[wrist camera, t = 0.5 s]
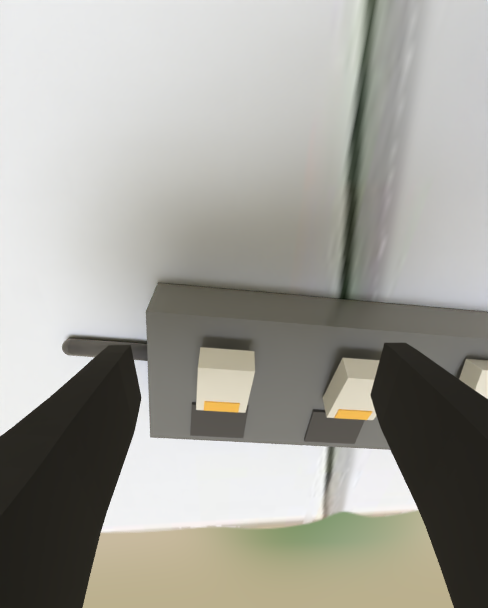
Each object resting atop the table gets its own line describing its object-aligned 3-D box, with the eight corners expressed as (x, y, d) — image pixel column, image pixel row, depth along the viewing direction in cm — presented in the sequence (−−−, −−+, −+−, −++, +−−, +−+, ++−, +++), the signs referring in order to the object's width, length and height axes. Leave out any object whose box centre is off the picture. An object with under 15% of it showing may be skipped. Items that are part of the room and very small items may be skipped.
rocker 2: (392, 361, 17) (401, 382, 16) (367, 400, 19) (373, 421, 18) (342, 357, 17) (348, 379, 16) (322, 398, 19) (326, 418, 18)
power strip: (526, 315, 20) (572, 347, 18) (461, 418, 25) (490, 457, 22) (54, 273, 18) (22, 303, 15) (76, 395, 23) (54, 435, 20)
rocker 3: (511, 362, 18) (531, 374, 17) (489, 418, 19) (507, 433, 18) (466, 358, 18) (483, 370, 17) (446, 415, 19) (461, 431, 18)
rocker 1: (254, 351, 16) (254, 372, 15) (245, 393, 19) (245, 414, 18) (200, 347, 16) (197, 368, 15) (198, 390, 19) (195, 411, 18)
